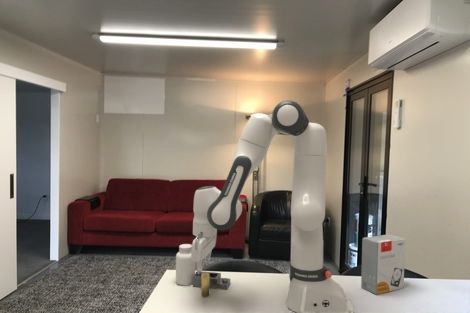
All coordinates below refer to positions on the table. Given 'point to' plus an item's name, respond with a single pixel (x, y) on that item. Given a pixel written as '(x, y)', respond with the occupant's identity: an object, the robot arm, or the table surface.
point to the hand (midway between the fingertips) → (203, 266)
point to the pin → (205, 284)
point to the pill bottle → (184, 265)
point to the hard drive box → (382, 263)
